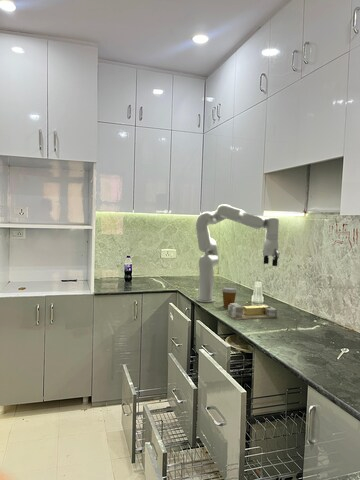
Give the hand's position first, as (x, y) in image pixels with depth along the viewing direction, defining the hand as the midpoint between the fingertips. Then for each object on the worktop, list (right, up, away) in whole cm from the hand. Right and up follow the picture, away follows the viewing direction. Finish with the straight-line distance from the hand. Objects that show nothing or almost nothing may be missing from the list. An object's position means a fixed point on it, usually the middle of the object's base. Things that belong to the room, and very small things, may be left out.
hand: (270, 264), depth 229 cm
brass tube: (-12, -28, -12) cm, 33 cm away
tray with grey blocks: (-15, -29, -13) cm, 35 cm away
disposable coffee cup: (-25, -27, +5) cm, 38 cm away
